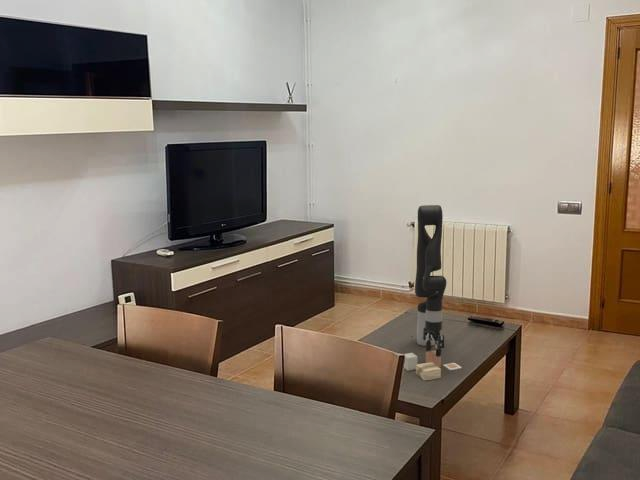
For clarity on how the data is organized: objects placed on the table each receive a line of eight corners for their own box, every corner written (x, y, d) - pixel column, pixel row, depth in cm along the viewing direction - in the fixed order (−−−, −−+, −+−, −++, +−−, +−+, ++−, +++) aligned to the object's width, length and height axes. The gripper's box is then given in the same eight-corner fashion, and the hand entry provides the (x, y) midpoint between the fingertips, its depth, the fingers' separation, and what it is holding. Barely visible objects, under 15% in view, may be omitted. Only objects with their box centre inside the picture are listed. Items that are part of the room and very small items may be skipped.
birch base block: (415, 374, 276) (416, 364, 275) (432, 371, 278) (432, 362, 277) (424, 381, 268) (424, 371, 267) (440, 378, 270) (440, 368, 269)
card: (443, 365, 284) (443, 364, 283) (454, 363, 286) (454, 362, 286) (450, 370, 278) (450, 369, 278) (461, 368, 280) (461, 366, 280)
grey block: (402, 366, 283) (402, 354, 282) (411, 365, 285) (412, 352, 284) (407, 370, 279) (407, 358, 278) (417, 368, 281) (417, 356, 279)
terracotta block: (425, 364, 285) (425, 352, 284) (435, 362, 287) (435, 350, 286) (431, 368, 281) (431, 355, 280) (440, 366, 283) (441, 354, 281)
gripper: (449, 322, 274) (449, 357, 277) (432, 313, 287) (432, 347, 290) (434, 324, 272) (434, 359, 275) (418, 315, 285) (418, 349, 288)
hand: (433, 353), depth 282 cm, fingers open, 8 cm apart
